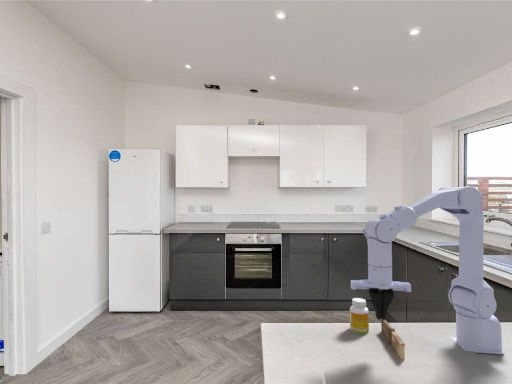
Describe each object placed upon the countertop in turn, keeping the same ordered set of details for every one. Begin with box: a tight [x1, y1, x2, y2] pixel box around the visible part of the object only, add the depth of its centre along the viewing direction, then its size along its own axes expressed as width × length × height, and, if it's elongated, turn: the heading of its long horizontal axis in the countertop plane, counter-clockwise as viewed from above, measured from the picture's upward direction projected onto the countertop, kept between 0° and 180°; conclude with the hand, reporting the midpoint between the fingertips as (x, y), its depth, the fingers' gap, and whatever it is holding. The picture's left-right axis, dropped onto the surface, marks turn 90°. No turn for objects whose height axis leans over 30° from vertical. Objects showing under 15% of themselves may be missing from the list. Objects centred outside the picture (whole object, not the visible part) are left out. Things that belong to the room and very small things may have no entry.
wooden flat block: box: [391, 331, 406, 361], centre depth 74 cm, size 7×1×4 cm, turn 173°
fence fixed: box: [380, 318, 396, 346], centre depth 83 cm, size 2×9×5 cm, turn 172°
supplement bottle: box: [349, 297, 370, 335], centre depth 87 cm, size 5×5×10 cm
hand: (380, 318), depth 74 cm, fingers closed
